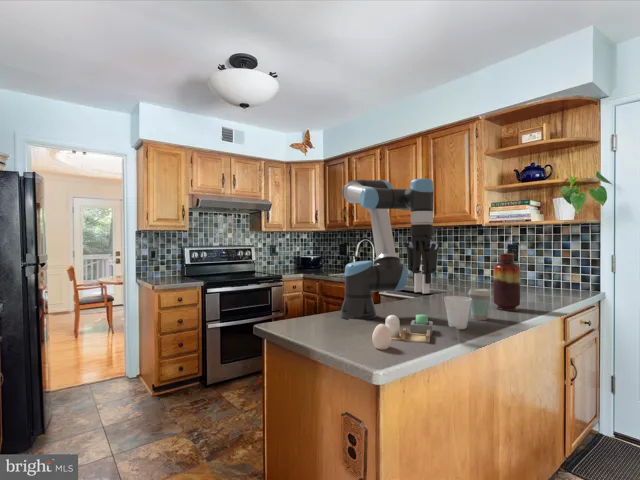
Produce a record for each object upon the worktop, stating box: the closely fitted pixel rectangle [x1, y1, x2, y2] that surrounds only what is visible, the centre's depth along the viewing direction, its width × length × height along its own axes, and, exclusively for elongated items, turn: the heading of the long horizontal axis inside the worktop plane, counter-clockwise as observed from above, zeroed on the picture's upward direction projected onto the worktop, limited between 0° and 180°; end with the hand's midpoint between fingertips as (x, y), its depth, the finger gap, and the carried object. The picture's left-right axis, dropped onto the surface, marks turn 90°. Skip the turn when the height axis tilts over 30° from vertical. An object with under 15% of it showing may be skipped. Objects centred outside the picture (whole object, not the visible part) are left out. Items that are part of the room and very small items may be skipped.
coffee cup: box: [467, 288, 491, 321], centre depth 147 cm, size 8×9×12 cm
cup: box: [443, 295, 472, 330], centre depth 132 cm, size 10×10×11 cm
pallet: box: [391, 327, 431, 344], centre depth 115 cm, size 16×8×3 cm, turn 71°
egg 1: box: [372, 323, 392, 350], centre depth 104 cm, size 6×6×8 cm
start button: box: [415, 313, 429, 325], centre depth 122 cm, size 4×4×4 cm
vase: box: [493, 253, 521, 312], centre depth 167 cm, size 11×11×26 cm
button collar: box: [409, 319, 434, 336], centre depth 122 cm, size 7×7×4 cm
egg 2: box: [384, 314, 401, 338], centre depth 117 cm, size 5×5×7 cm
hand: (421, 292), depth 122 cm, fingers open, 3 cm apart
